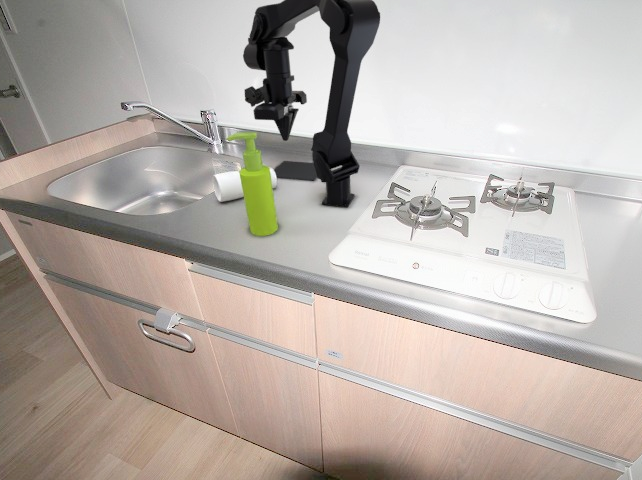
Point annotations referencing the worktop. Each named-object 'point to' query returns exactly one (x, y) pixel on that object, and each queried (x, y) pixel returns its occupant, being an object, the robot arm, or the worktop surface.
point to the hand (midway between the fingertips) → (285, 140)
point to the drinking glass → (233, 185)
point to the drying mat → (296, 170)
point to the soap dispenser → (257, 188)
